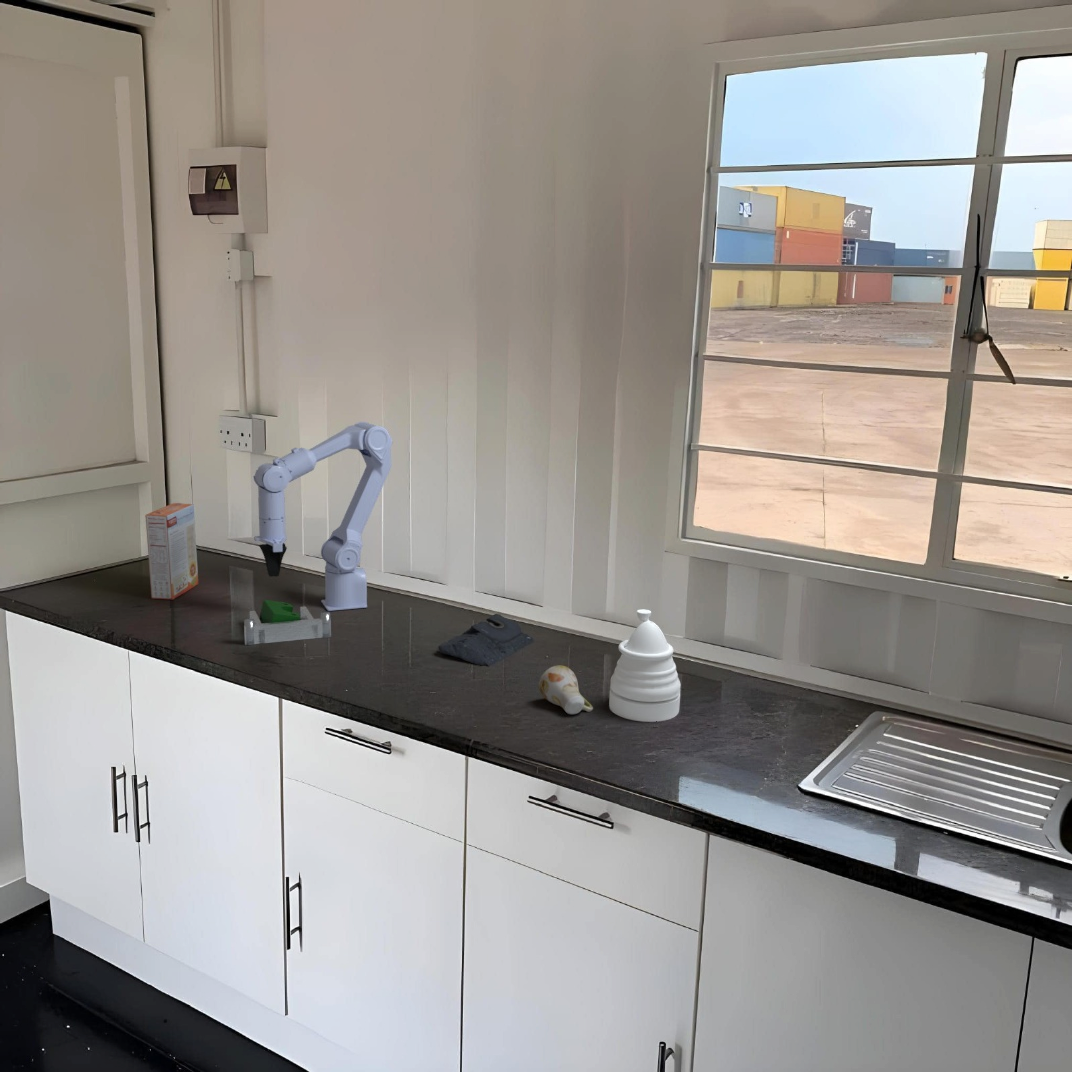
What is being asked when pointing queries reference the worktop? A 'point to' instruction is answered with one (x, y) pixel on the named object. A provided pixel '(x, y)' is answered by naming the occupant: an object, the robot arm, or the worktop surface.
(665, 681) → the honey pot
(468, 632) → the folded dark cloth
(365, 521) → the robot arm
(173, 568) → the cracker box
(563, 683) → the mug
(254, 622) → the dock
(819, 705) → the worktop surface
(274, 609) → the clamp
